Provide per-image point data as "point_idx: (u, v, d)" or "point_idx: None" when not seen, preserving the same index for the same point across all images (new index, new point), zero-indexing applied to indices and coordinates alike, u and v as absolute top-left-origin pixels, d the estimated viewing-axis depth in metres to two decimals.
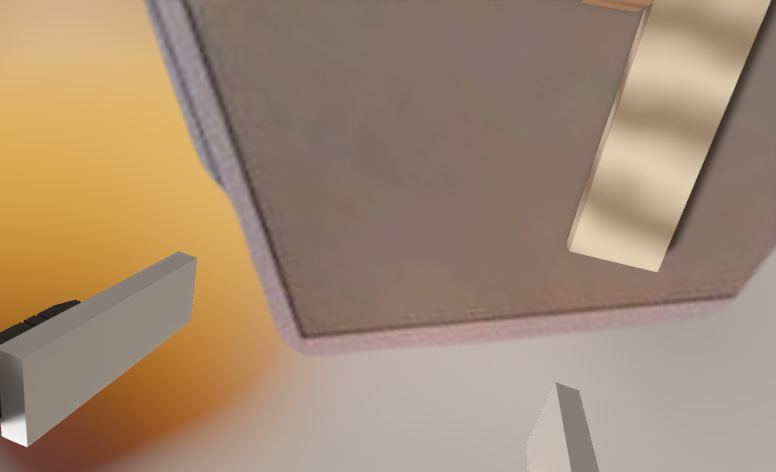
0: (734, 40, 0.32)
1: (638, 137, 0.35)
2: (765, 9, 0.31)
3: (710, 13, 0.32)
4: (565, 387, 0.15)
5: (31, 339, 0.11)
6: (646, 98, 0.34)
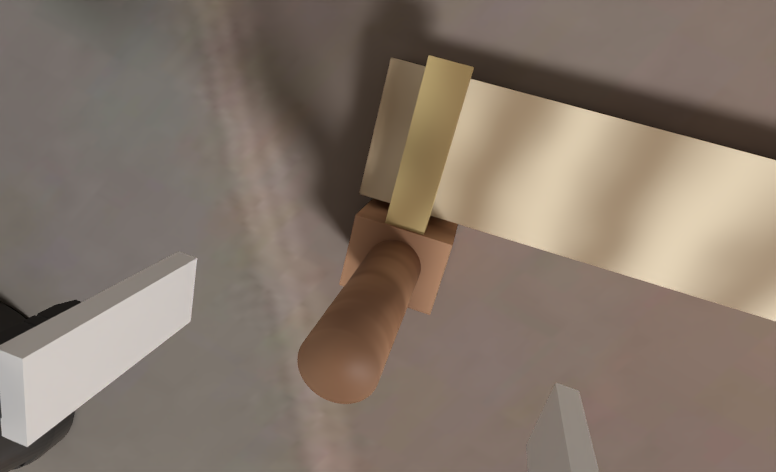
0: (517, 118, 0.22)
1: (642, 236, 0.22)
2: (481, 84, 0.22)
3: (475, 152, 0.23)
4: (565, 387, 0.15)
5: (31, 339, 0.11)
6: (581, 227, 0.23)
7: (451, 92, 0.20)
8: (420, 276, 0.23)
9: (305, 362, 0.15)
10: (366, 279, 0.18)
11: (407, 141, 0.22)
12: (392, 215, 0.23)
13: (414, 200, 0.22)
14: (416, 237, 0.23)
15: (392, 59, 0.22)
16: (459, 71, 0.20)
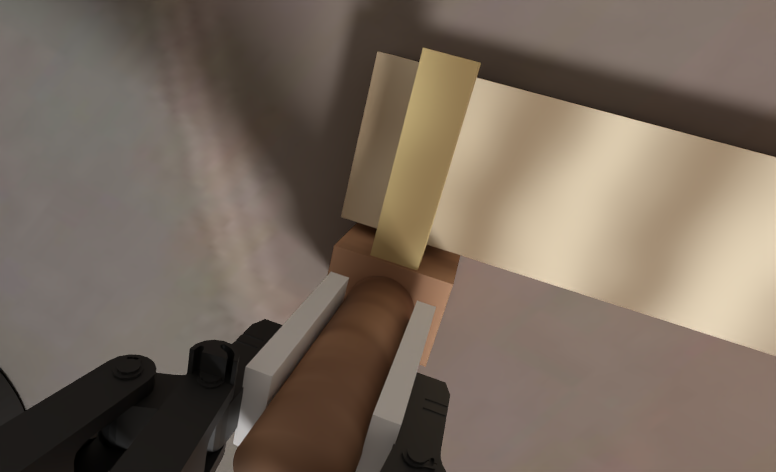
0: (534, 127, 0.18)
1: (691, 274, 0.18)
2: (489, 84, 0.17)
3: (481, 169, 0.18)
4: (424, 303, 0.17)
5: (268, 358, 0.12)
6: (613, 261, 0.18)
7: (452, 95, 0.16)
8: None
9: (243, 471, 0.11)
10: (338, 340, 0.14)
11: (396, 156, 0.17)
12: (378, 246, 0.19)
13: (405, 228, 0.18)
14: (408, 273, 0.18)
15: (379, 53, 0.18)
16: (462, 68, 0.16)
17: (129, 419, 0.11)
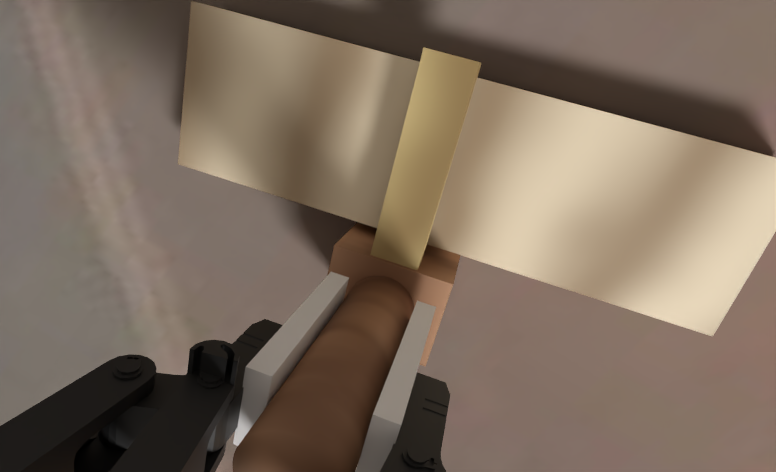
0: (335, 71, 0.19)
1: (485, 212, 0.19)
2: (291, 30, 0.18)
3: (294, 113, 0.20)
4: (424, 303, 0.17)
5: (268, 358, 0.12)
6: None
7: (452, 94, 0.16)
8: None
9: (242, 470, 0.11)
10: (338, 339, 0.14)
11: (397, 155, 0.17)
12: (379, 246, 0.19)
13: (406, 228, 0.18)
14: (408, 273, 0.18)
15: (192, 3, 0.19)
16: (462, 68, 0.16)
17: (129, 419, 0.11)
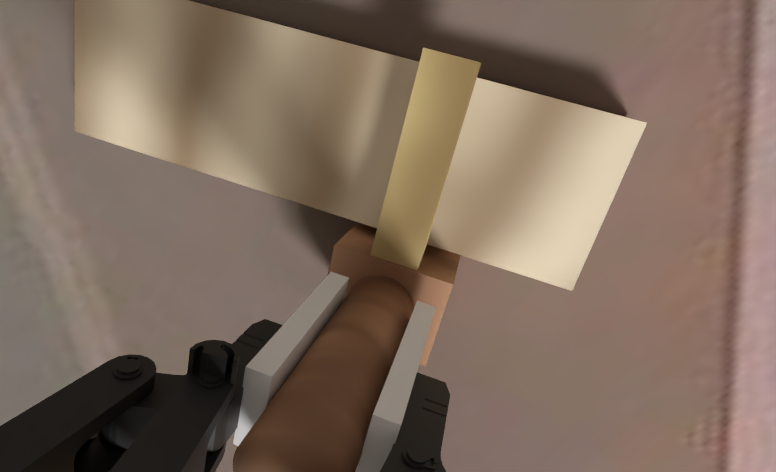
0: (209, 37, 0.19)
1: (357, 173, 0.20)
2: None
3: (176, 79, 0.20)
4: (424, 303, 0.17)
5: (268, 358, 0.12)
6: (295, 163, 0.20)
7: (452, 94, 0.16)
8: None
9: (242, 470, 0.11)
10: (338, 339, 0.14)
11: (397, 156, 0.17)
12: (379, 246, 0.19)
13: (406, 228, 0.18)
14: (408, 273, 0.18)
15: None
16: (462, 68, 0.16)
17: (129, 419, 0.11)
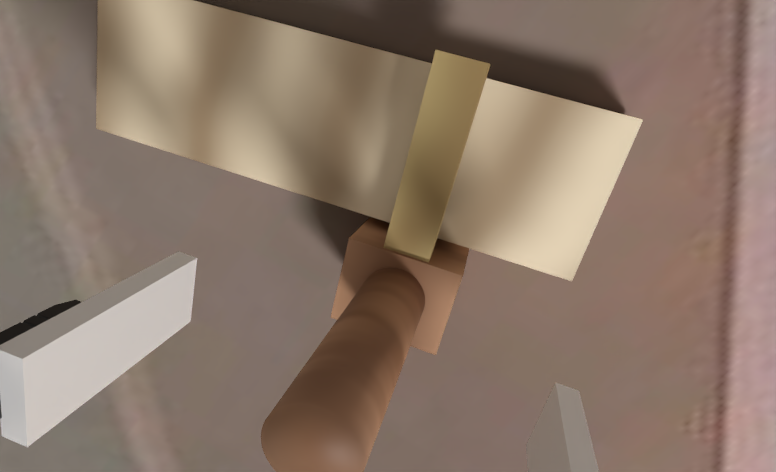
0: (226, 38, 0.20)
1: (366, 167, 0.21)
2: (185, 0, 0.20)
3: (194, 79, 0.21)
4: (565, 387, 0.15)
5: (31, 339, 0.11)
6: (307, 159, 0.21)
7: (462, 94, 0.17)
8: (424, 310, 0.20)
9: (270, 442, 0.12)
10: (356, 325, 0.15)
11: (409, 152, 0.18)
12: (391, 239, 0.19)
13: (417, 221, 0.19)
14: (420, 265, 0.19)
15: None
16: (472, 69, 0.17)
17: None
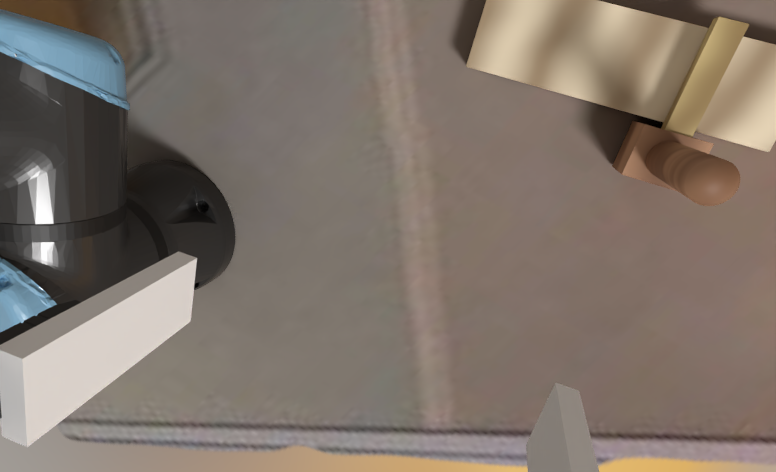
0: (572, 11, 0.36)
1: (648, 87, 0.36)
2: None
3: (544, 35, 0.37)
4: (565, 386, 0.15)
5: (31, 339, 0.11)
6: (609, 82, 0.37)
7: (730, 40, 0.32)
8: None
9: (690, 180, 0.27)
10: (692, 149, 0.30)
11: (692, 73, 0.33)
12: (670, 124, 0.35)
13: (689, 113, 0.34)
14: (687, 139, 0.35)
15: None
16: (739, 27, 0.32)
17: None
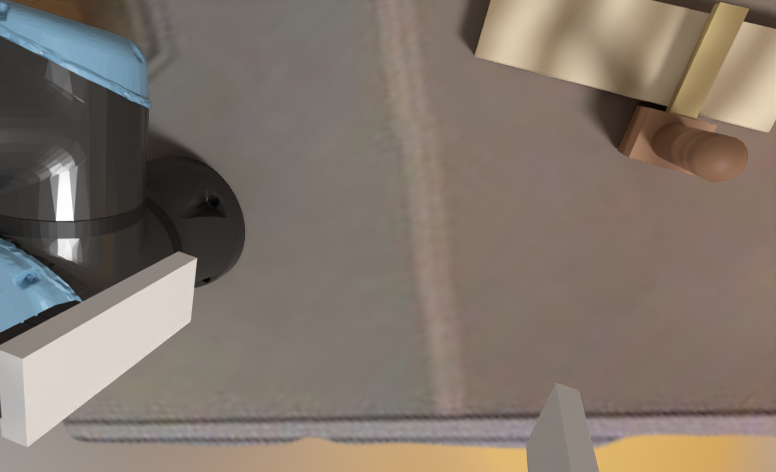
0: (577, 0, 0.37)
1: (652, 72, 0.37)
2: None
3: (550, 24, 0.38)
4: (565, 387, 0.15)
5: (31, 339, 0.11)
6: (615, 69, 0.38)
7: (731, 25, 0.34)
8: None
9: (700, 158, 0.29)
10: (699, 129, 0.32)
11: (695, 57, 0.35)
12: (675, 107, 0.36)
13: (693, 96, 0.35)
14: (691, 121, 0.36)
15: None
16: (739, 12, 0.33)
17: None
